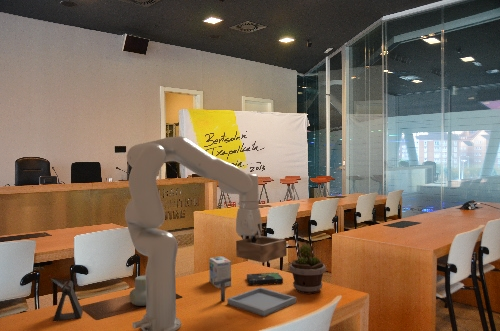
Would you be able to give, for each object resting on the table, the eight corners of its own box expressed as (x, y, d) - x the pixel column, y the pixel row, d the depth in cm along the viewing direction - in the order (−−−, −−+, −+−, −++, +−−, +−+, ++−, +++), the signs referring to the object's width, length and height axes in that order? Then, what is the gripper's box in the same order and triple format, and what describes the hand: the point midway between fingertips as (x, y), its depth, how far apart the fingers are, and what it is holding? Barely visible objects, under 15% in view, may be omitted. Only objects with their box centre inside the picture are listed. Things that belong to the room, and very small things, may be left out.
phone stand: (83, 312, 146) (82, 279, 146) (81, 318, 141) (80, 284, 140) (55, 315, 144) (55, 281, 144) (52, 321, 138) (51, 286, 138)
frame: (263, 262, 143) (262, 245, 143) (236, 256, 153) (236, 240, 153) (286, 255, 153) (286, 239, 153) (260, 250, 162) (259, 235, 162)
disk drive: (250, 287, 175) (283, 284, 177) (249, 280, 175) (283, 278, 177) (246, 280, 185) (278, 277, 187) (246, 274, 185) (278, 271, 187)
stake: (216, 304, 153) (216, 282, 153) (213, 303, 154) (213, 281, 154) (231, 298, 159) (231, 277, 159) (229, 297, 160) (228, 277, 160)
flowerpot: (329, 295, 160) (329, 245, 160) (291, 296, 160) (290, 246, 160) (323, 284, 175) (322, 238, 175) (287, 285, 175) (287, 238, 175)
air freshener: (128, 301, 157) (127, 275, 157) (149, 297, 162) (148, 272, 162) (136, 310, 148) (136, 282, 148) (158, 305, 152) (158, 279, 152)
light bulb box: (209, 281, 182) (208, 257, 181) (223, 279, 184) (222, 255, 184) (217, 288, 172) (216, 263, 172) (232, 286, 175) (231, 261, 175)
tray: (263, 316, 140) (263, 310, 140) (227, 304, 153) (227, 298, 153) (296, 302, 153) (296, 297, 153) (260, 292, 166) (260, 287, 166)
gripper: (228, 205, 159) (228, 251, 160) (257, 208, 149) (257, 257, 149) (241, 203, 165) (242, 248, 165) (270, 206, 154) (271, 254, 154)
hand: (249, 252), depth 157 cm, fingers closed on frame, 1 cm apart
